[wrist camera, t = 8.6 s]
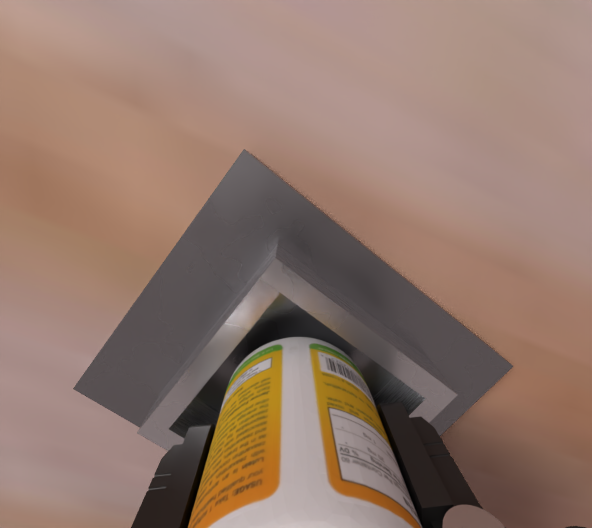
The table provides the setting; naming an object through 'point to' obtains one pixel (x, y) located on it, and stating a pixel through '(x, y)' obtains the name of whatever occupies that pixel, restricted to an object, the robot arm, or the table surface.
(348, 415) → the supplement bottle
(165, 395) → the plate
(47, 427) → the table surface
